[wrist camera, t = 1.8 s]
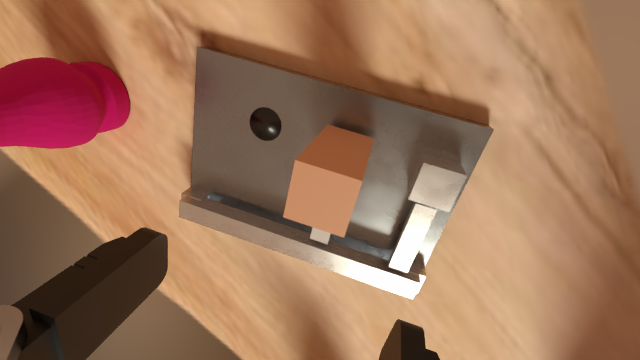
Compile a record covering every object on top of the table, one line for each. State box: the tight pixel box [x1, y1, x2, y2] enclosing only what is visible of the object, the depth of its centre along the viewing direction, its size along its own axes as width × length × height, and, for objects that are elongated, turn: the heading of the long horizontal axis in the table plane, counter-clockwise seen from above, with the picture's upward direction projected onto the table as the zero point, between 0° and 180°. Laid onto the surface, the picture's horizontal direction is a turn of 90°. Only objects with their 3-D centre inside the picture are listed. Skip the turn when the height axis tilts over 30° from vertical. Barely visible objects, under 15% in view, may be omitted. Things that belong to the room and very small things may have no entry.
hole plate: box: [179, 47, 494, 299], centre depth 26 cm, size 23×16×4 cm
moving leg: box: [283, 125, 374, 244], centre depth 21 cm, size 4×10×9 cm, turn 167°
